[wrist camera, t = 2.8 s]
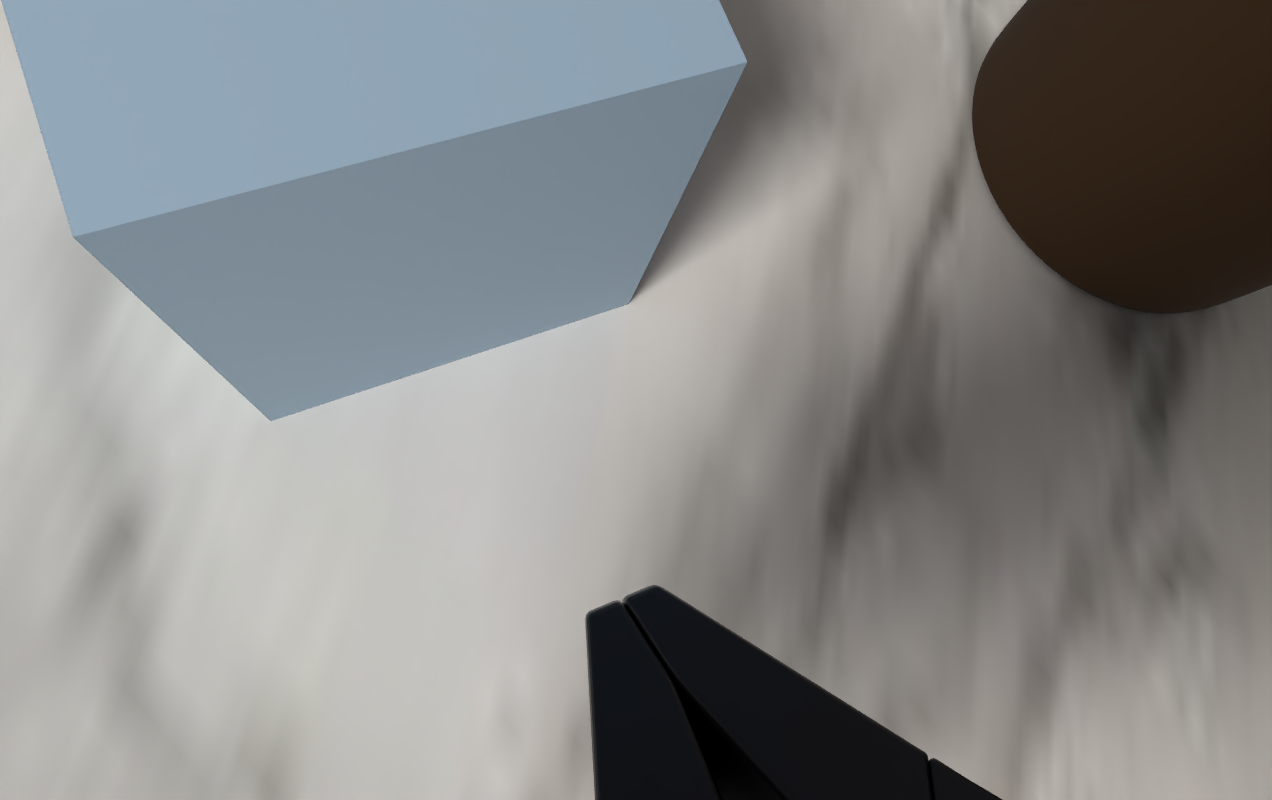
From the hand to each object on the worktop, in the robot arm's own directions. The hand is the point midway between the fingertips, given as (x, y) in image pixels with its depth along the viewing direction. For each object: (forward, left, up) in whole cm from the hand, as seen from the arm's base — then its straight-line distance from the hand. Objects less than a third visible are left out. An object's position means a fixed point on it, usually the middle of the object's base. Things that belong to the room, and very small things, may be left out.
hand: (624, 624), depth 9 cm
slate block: (+10, -4, -9) cm, 14 cm away
